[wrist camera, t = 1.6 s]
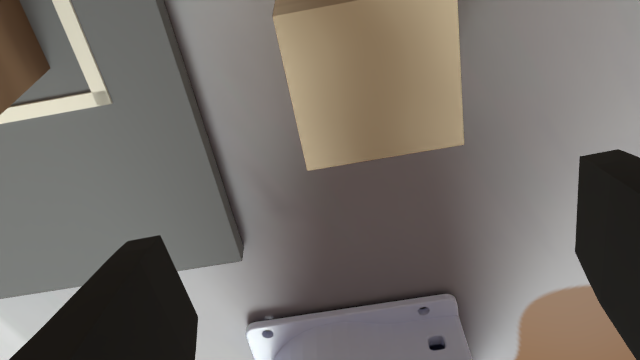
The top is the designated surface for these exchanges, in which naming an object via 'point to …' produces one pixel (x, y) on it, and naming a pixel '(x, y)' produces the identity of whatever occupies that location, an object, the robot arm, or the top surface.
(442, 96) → the maple cube
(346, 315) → the robot arm
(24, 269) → the gray mat
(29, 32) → the walnut block
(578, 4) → the top surface
